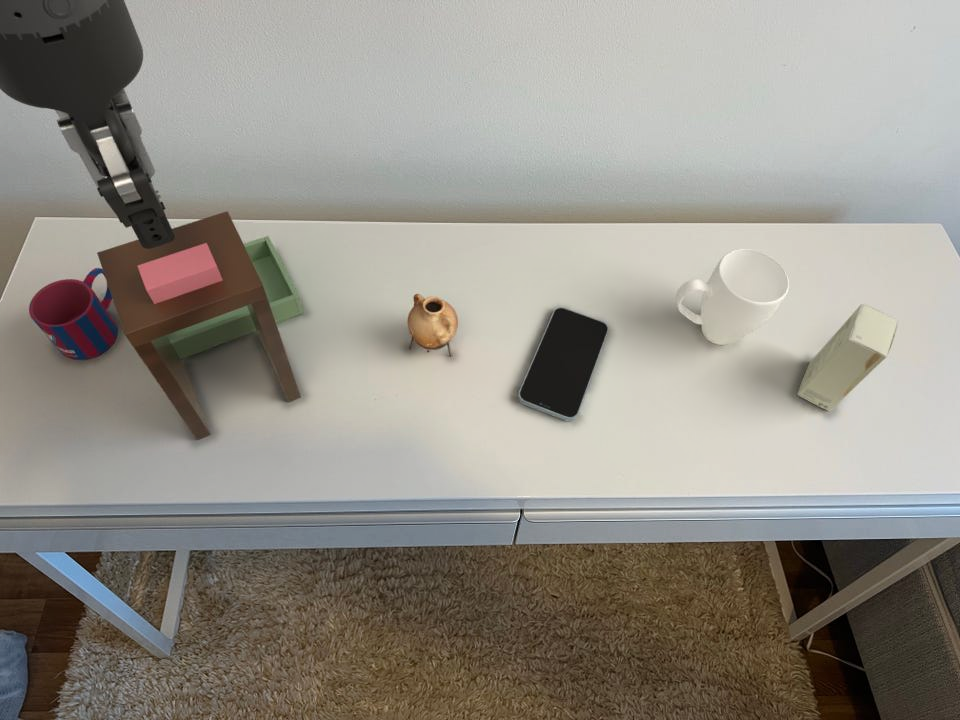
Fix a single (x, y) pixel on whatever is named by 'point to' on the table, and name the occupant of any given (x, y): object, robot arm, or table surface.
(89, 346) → the cup
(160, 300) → the eraser
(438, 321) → the pot
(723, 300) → the mug
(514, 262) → the table surface
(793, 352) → the table surface
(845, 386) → the cosmetic box
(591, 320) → the smartphone
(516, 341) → the table surface
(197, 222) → the walnut stand
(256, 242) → the tray
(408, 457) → the table surface
